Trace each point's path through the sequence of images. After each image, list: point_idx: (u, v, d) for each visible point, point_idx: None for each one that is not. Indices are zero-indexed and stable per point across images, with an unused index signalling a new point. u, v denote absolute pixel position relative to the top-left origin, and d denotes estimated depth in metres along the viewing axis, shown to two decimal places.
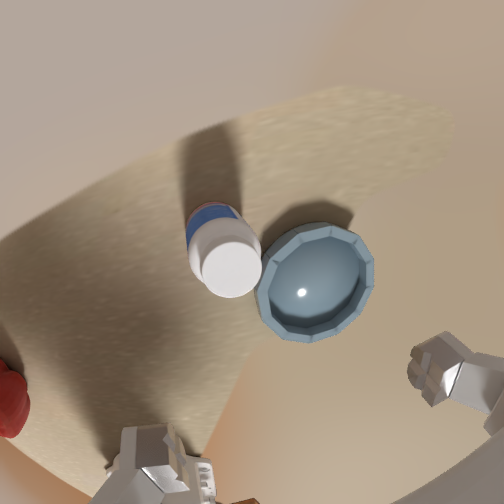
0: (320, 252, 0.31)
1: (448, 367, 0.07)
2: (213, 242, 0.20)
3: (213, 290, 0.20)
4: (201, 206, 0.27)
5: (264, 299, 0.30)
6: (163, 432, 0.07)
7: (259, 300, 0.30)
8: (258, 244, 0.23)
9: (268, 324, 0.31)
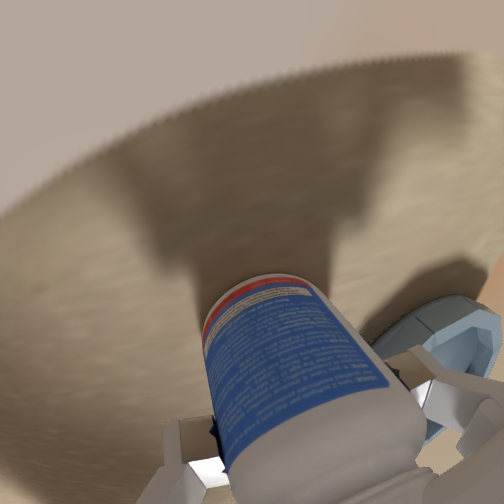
0: (440, 345, 0.15)
1: (416, 385, 0.07)
2: None
3: None
4: (244, 291, 0.10)
5: None
6: (208, 424, 0.07)
7: None
8: None
9: None
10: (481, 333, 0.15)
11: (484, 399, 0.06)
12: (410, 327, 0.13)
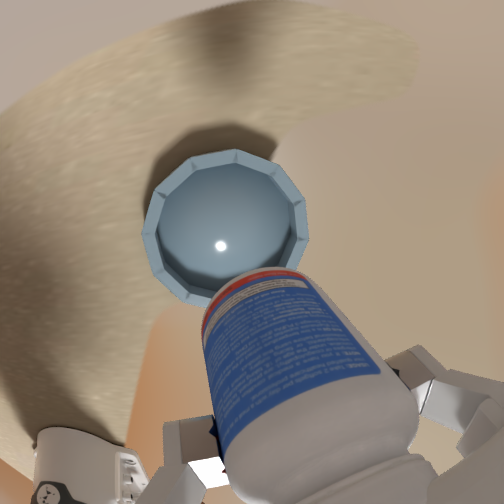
0: (230, 189, 0.24)
1: (416, 385, 0.07)
2: None
3: None
4: (241, 283, 0.11)
5: (151, 244, 0.23)
6: (208, 424, 0.07)
7: (145, 245, 0.23)
8: None
9: (161, 279, 0.24)
10: (278, 188, 0.25)
11: (484, 399, 0.06)
12: None
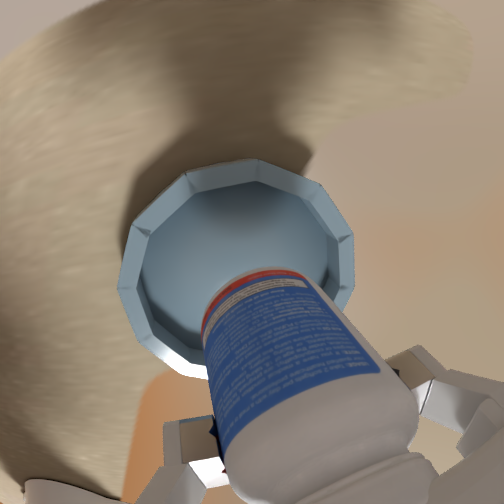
0: (246, 218, 0.17)
1: (416, 385, 0.07)
2: (335, 503, 0.04)
3: None
4: (241, 282, 0.11)
5: (133, 303, 0.15)
6: (208, 424, 0.07)
7: (124, 304, 0.15)
8: (417, 424, 0.06)
9: (150, 348, 0.16)
10: (315, 216, 0.17)
11: (484, 399, 0.06)
12: (176, 178, 0.15)
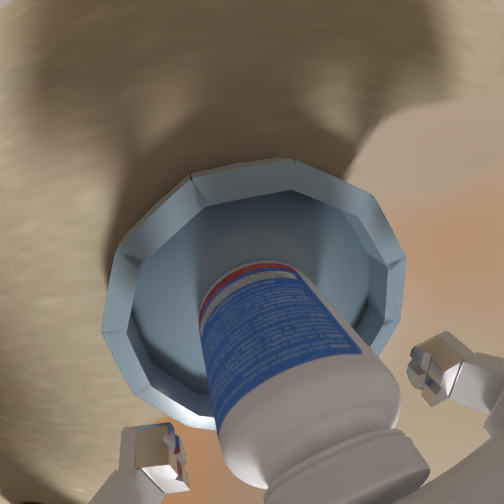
0: (272, 238, 0.13)
1: (448, 367, 0.07)
2: (318, 471, 0.05)
3: None
4: (235, 275, 0.12)
5: (123, 350, 0.11)
6: (163, 432, 0.07)
7: (112, 351, 0.11)
8: (400, 406, 0.07)
9: (148, 400, 0.12)
10: (360, 235, 0.13)
11: None
12: (178, 184, 0.11)
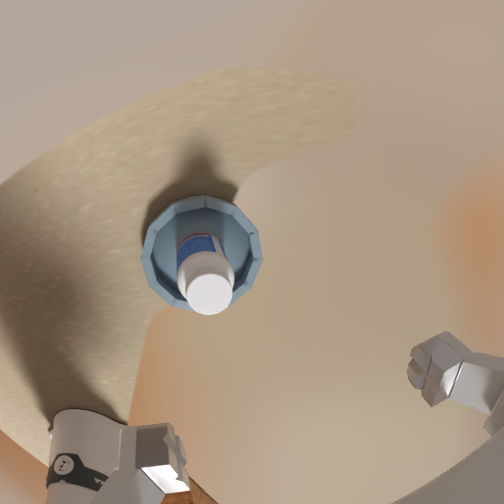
0: (203, 224, 0.34)
1: (448, 367, 0.07)
2: (195, 273, 0.26)
3: (195, 309, 0.26)
4: (188, 236, 0.33)
5: (148, 265, 0.32)
6: (163, 432, 0.07)
7: (144, 266, 0.32)
8: (231, 272, 0.28)
9: (155, 289, 0.33)
10: (238, 222, 0.34)
11: None
12: (169, 205, 0.32)
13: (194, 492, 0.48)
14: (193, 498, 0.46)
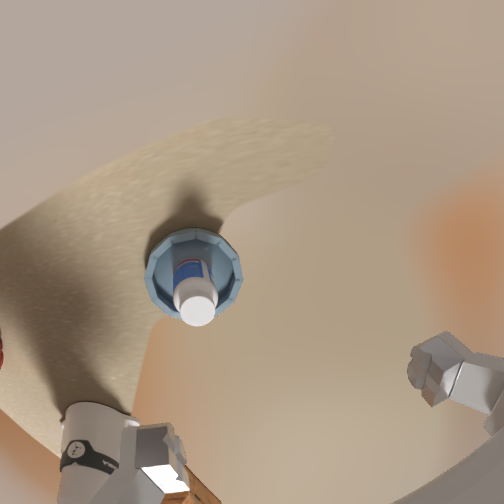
0: (194, 251, 0.41)
1: (448, 367, 0.07)
2: (186, 295, 0.34)
3: (187, 322, 0.34)
4: (183, 261, 0.40)
5: (150, 284, 0.40)
6: (163, 432, 0.07)
7: (146, 284, 0.40)
8: (215, 293, 0.36)
9: (156, 303, 0.41)
10: (223, 249, 0.42)
11: None
12: (166, 236, 0.40)
13: None
14: None
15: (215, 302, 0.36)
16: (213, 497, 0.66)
